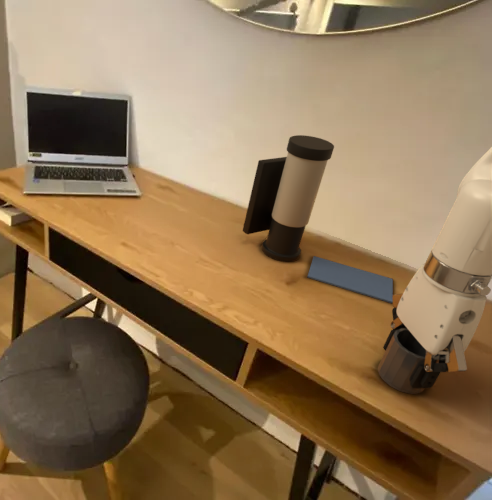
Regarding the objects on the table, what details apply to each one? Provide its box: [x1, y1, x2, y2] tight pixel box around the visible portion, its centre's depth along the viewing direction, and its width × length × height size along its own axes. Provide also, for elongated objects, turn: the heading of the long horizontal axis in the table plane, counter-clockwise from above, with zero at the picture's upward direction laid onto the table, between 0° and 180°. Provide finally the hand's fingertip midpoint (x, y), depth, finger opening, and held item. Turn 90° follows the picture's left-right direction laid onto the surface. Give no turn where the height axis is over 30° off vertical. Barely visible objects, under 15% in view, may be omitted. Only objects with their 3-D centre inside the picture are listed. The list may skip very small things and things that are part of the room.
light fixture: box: [242, 134, 335, 263], centre depth 98 cm, size 12×11×25 cm
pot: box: [377, 328, 439, 395], centre depth 72 cm, size 7×7×7 cm
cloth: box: [307, 255, 394, 304], centre depth 96 cm, size 16×9×1 cm, turn 65°
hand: (406, 366), depth 72 cm, fingers closed on pot, 6 cm apart
